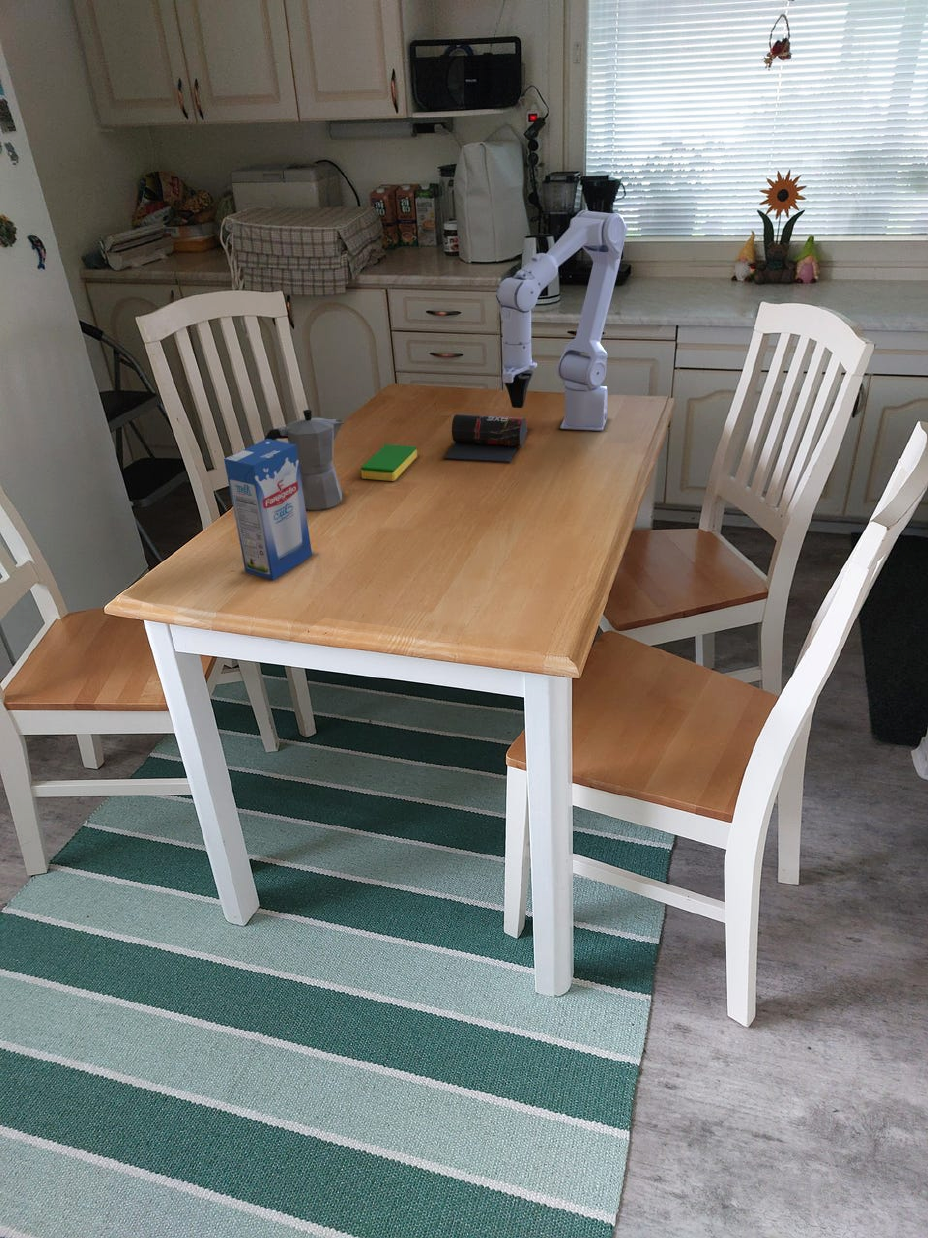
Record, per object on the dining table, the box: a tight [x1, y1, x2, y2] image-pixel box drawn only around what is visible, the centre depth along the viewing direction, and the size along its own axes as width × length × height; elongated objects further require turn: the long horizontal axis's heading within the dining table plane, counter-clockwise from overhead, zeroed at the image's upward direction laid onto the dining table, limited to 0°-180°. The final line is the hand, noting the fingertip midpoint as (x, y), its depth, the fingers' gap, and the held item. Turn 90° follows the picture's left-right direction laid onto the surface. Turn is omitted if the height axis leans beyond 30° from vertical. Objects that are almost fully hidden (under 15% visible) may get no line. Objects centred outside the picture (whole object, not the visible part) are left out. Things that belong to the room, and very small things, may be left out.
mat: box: [443, 427, 529, 464], centre depth 199 cm, size 14×20×1 cm
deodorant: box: [451, 413, 527, 447], centre depth 197 cm, size 6×6×15 cm
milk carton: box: [223, 438, 313, 581], centre depth 150 cm, size 10×6×20 cm, turn 148°
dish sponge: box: [360, 443, 418, 482], centre depth 189 cm, size 7×14×2 cm, turn 163°
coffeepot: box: [263, 409, 345, 511], centre depth 172 cm, size 15×9×18 cm, turn 116°
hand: (517, 406), depth 192 cm, fingers closed
